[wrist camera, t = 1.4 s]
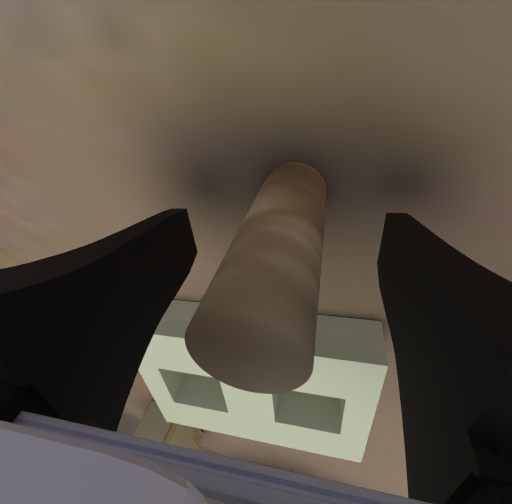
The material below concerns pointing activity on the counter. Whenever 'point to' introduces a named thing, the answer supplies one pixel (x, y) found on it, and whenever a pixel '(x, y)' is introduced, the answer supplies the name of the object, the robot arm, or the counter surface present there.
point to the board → (281, 404)
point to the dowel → (266, 289)
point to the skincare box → (167, 430)
